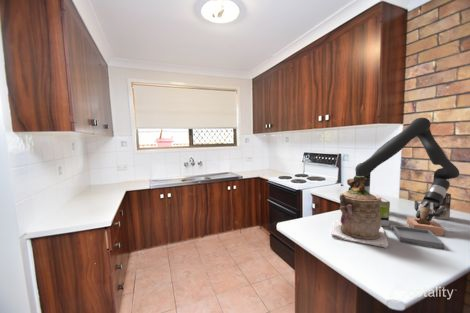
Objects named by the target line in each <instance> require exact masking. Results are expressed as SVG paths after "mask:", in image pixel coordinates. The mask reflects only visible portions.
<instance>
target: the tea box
mask: <svg viewBox="0 0 470 313" xmlns="http://www.w3.org/2000/svg"><path fill="white" fill-rule="evenodd" d="M374 195H375V194H374ZM375 196H378V197H380V198H381V202H380V203H379V204H380V214H381V227H384V226H385V227H388V226H389V225H390V224H389V223H390V210H391V209H390V207H391V202H390V200H388V199H385V198H383V197H382V196H379V195H375Z"/></svg>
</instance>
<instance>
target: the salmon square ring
mask: <svg viewBox="0 0 470 313" xmlns="http://www.w3.org/2000/svg"><path fill="white" fill-rule="evenodd" d="M419 220H420V218H419V219H418V218H417V217H410V216H409V217H408V216H407V217H406V224H407V225H408V227H411V228H418V229H426V230H430V231H431V232H432V233H433V234H434V235H435V236H441V237H443V236H444V233H445V228H444V227H443V226H442V225H440V224H439V223H438V222H437V221H435V220H433V219H432V220H431V221H429V225H425V224H419Z"/></svg>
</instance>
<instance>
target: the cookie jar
mask: <svg viewBox="0 0 470 313" xmlns="http://www.w3.org/2000/svg"><path fill="white" fill-rule="evenodd" d="M366 180H367V179H366V178H365V176H361V177H359V176H356V175H355V176H353V178H348V179H347V180H346V182H347V185H348V186H349V187H348V190H346V191H344V192H342V193H340V195H339V201H340V202H339V205H340V206H339V211H340V212H341V216H340V220H339V219H338V220H337V219H335V220H333V224H332V229H331V232H330V233H331V234H330V235H331V236H333V237H336V238H338V239H340V240H345V241H350V242H355V243H359V244H360V243H361V244H366V245H372V246H375V247H382V248H385V249H388V246H389V241H388V238H387V237H386V235H385V234H386V233H385V230H384V228H383V226H381V214H380V204H379V203H380V202H381V198H380V197H381V196H380V197H378V196H379V195H378V196H375V194H371V192H370V193H369V192H367V191H366V190H365V187H364V183H365V181H366Z"/></svg>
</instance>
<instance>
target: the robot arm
mask: <svg viewBox="0 0 470 313" xmlns="http://www.w3.org/2000/svg"><path fill="white" fill-rule="evenodd" d="M416 137H417V138H418V139H419V140H420V143H421V144H422V146H423V148H424V151H425V152H426V154H427V156H428V158H429V159H430V161H431V163H432V164H433V165H435V166H441V168H438V169H436V170H435V171H434V173H433V179H432V180H433V181H432V183H431V185H430V186H429V188H428V189H427V191H426V193H425V194H424V196H423V198H422V200H421V201H418V200H414V209H415V212H416V213H415V218H418V219H420V207H427V208H430V214H429V215H428V217H427V219H426V220H427V221H431V220H433V219H434V218H433V217H434V216H437V217H439V216H440V215H441V214H443V213H444V212H445V211H446V208H445V207H444V206H443V207H442V206H441V203H442V201H443V199H444V198H445V195H446V193H448V190H449V187H450V185H451V183H450V181H449V180H452V179H457V178H458V177H459V176H460V170H459V168H458V167H456V165H455V164H454V163H452V161H450V159H449V158H448V157H447V156H446V154H445V152H444V150H443V149H442V147H441V146H440V145H439V143H438V142H437V140H435V138H434V136H433V134H432V130H431V121H430V119H428V118H426V117H418V118H415V119H413V120H412V121H411V123H409V124H408V125H407V126H406V127H405V128H404V129H403V130H402V131H401V132H400V133H398V134H396V135H395V136H393V137H392V138H391V139H389V140H388V141H386V142H385V143H384V144H382V145H381V146H380V147H379V148H378V149H377V150H376V151H375V152H374V153H373V154H372V155H371V156H370V157H368V158H367V159H366V160H365V161H363V162H360V163H358V164H357V165H356V167H355V176H359V177H361V176H365V178H366V179H367V180H366V181H365V183H364V187H365V190H366V191H367V192H369V193H370V194H371V190H370V189H371V173H372V172H373V171H374V170H375V169H376V168H378V166H380V165H382V164H383V163H385V162H387V161H388V160H389V159H392V157H394V156H395V155H396V154H398V153H399V152H401V150H402V149H403V148H405V147H406V146H407V145H408V144H409V143H410V142H411V141H412V140H413V139H415V138H416ZM438 208H439V210H438V211H436V212H435V210H436V209H438Z"/></svg>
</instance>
